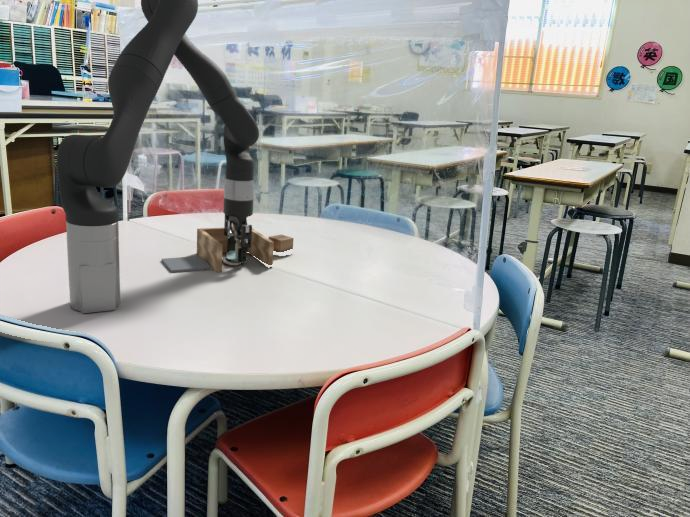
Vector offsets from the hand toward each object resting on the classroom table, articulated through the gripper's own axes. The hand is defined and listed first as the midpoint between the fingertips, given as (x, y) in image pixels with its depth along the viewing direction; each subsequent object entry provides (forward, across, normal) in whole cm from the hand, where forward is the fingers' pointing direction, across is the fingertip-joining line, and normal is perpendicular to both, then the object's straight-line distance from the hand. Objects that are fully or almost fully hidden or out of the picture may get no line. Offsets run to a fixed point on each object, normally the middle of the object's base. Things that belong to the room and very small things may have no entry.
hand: (236, 257), depth 145 cm
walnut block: (+2, +5, -15) cm, 16 cm away
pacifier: (+2, 0, +1) cm, 2 cm away
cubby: (+1, +2, 0) cm, 2 cm away
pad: (+1, +1, +13) cm, 13 cm away
